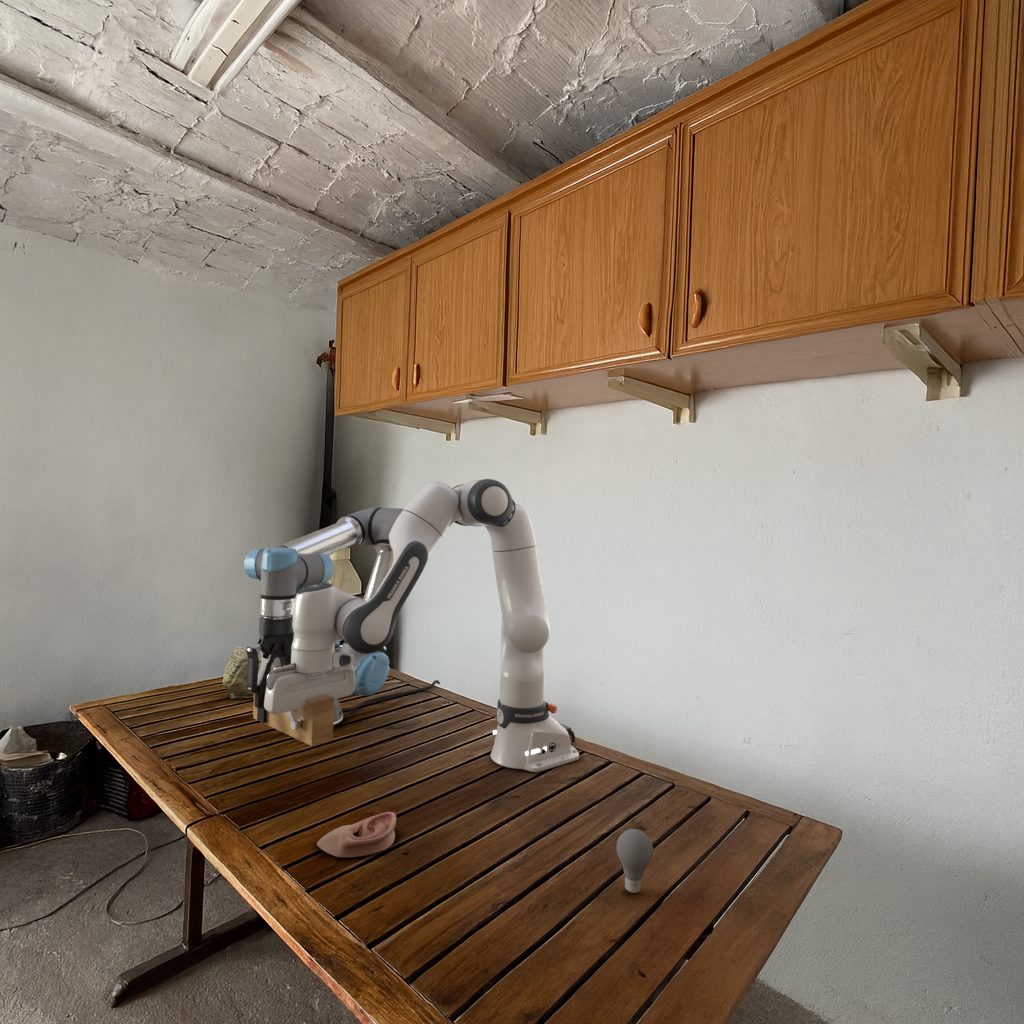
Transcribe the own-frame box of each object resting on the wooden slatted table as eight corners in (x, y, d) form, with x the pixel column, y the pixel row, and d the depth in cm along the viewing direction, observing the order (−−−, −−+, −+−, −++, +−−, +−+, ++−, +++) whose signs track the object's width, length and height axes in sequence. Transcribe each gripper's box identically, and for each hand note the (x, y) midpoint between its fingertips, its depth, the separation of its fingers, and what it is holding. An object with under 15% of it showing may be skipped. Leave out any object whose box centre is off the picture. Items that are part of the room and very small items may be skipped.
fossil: (218, 695, 195) (220, 647, 195) (278, 685, 208) (279, 640, 207) (228, 703, 189) (230, 653, 188) (289, 692, 201) (290, 645, 201)
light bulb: (610, 879, 108) (613, 822, 108) (644, 879, 109) (647, 822, 109) (619, 902, 102) (622, 840, 102) (655, 901, 103) (658, 840, 103)
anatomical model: (309, 830, 112) (339, 800, 124) (308, 852, 113) (338, 821, 124) (379, 841, 110) (403, 810, 121) (378, 864, 110) (402, 831, 121)
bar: (252, 718, 145) (254, 679, 144) (273, 712, 149) (274, 674, 148) (311, 746, 130) (313, 703, 130) (332, 739, 134) (334, 697, 134)
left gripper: (248, 623, 134) (244, 732, 134) (321, 614, 148) (318, 712, 149) (230, 618, 139) (226, 723, 139) (303, 609, 153) (299, 705, 153)
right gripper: (276, 672, 125) (273, 741, 125) (360, 655, 141) (358, 716, 141) (259, 665, 129) (256, 733, 129) (343, 649, 144) (340, 710, 145)
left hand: (273, 717), depth 144 cm, fingers closed on bar, 5 cm apart
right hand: (310, 724), depth 135 cm, fingers open, 5 cm apart
